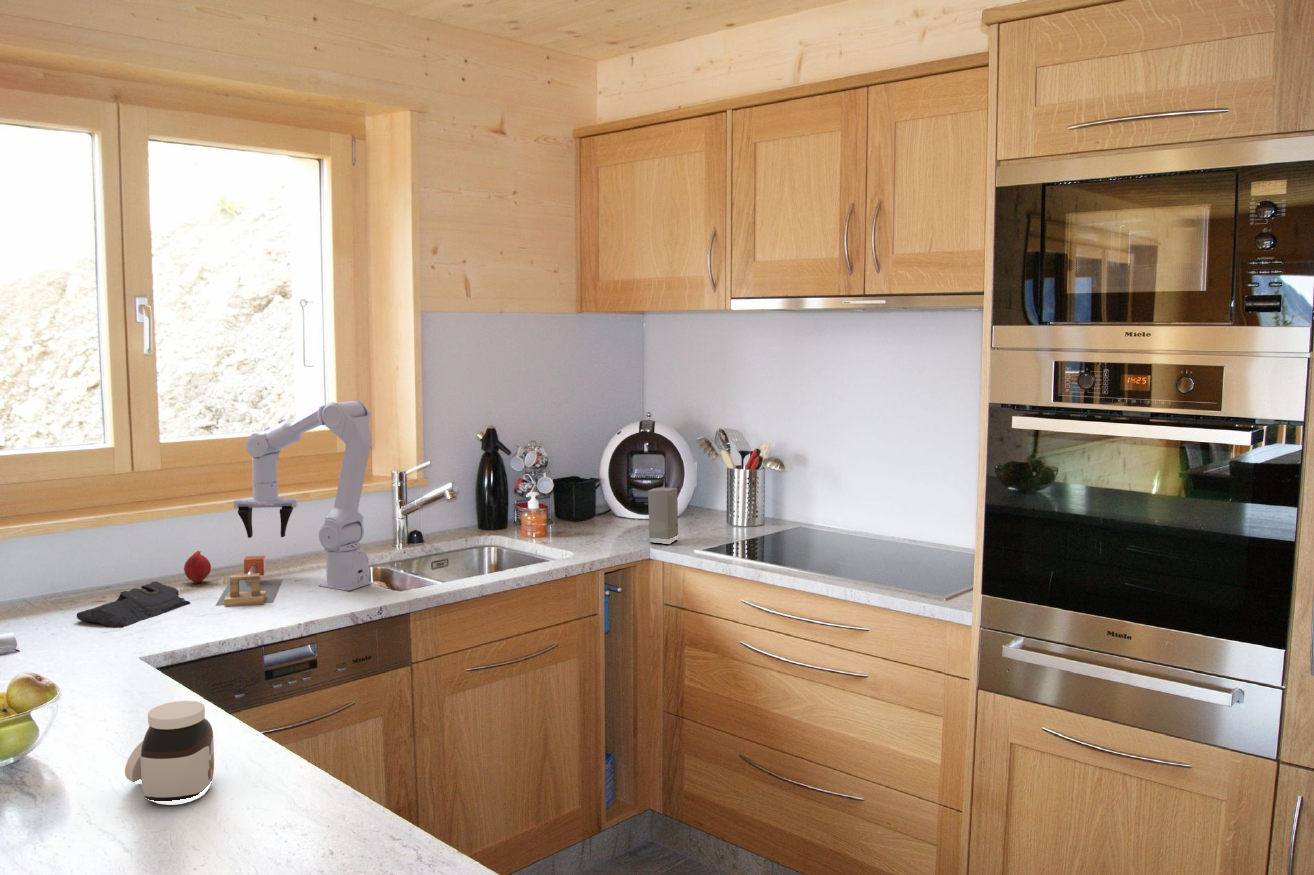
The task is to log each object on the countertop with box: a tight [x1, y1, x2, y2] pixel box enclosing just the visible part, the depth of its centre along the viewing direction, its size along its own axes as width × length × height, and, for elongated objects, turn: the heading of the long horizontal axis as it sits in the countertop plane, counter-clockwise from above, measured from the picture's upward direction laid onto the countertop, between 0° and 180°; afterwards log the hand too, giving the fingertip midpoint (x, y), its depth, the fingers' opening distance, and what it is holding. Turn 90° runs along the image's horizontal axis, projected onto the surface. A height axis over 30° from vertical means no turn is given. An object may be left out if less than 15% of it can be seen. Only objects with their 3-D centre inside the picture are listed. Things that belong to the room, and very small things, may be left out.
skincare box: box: [647, 487, 679, 539], centre depth 302 cm, size 8×7×16 cm
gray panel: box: [215, 578, 283, 606], centre depth 241 cm, size 22×12×1 cm, turn 15°
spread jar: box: [124, 700, 215, 801], centre depth 139 cm, size 12×11×12 cm
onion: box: [183, 549, 212, 584], centre depth 248 cm, size 6×6×8 cm
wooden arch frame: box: [223, 573, 266, 607], centre depth 232 cm, size 6×8×6 cm
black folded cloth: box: [76, 581, 191, 628], centre depth 224 cm, size 15×22×5 cm
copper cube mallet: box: [243, 555, 267, 583], centre depth 243 cm, size 16×4×4 cm, turn 15°
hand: (266, 536), depth 255 cm, fingers open, 7 cm apart
